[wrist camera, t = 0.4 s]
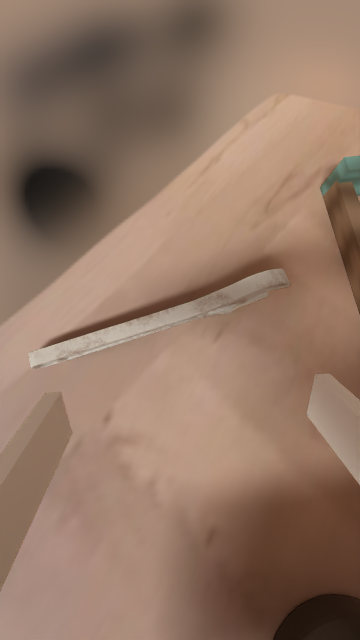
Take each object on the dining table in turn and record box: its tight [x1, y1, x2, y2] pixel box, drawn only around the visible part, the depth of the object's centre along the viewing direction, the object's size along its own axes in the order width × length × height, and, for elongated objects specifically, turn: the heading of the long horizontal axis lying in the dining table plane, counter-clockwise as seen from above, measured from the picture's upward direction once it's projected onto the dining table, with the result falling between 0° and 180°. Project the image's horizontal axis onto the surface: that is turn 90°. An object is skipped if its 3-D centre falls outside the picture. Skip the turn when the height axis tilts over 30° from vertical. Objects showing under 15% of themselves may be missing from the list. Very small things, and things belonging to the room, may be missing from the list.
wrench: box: [28, 269, 290, 369], centre depth 26 cm, size 8×2×30 cm
